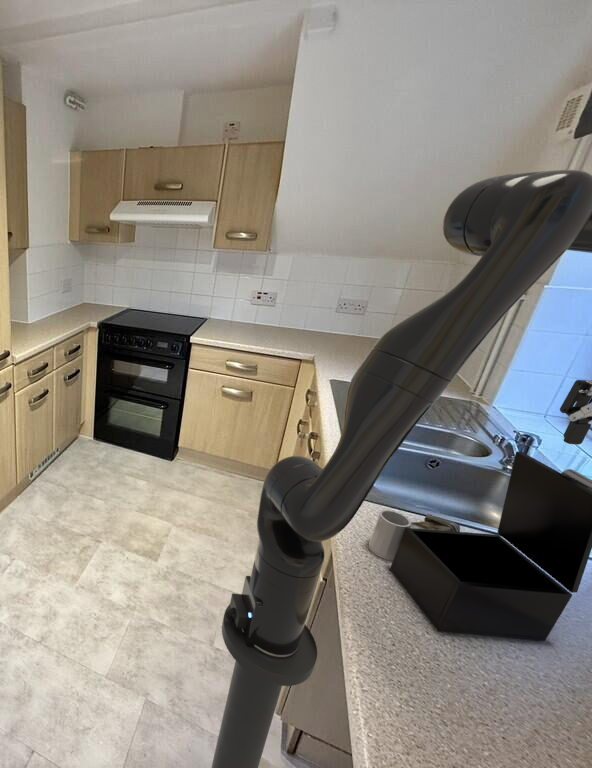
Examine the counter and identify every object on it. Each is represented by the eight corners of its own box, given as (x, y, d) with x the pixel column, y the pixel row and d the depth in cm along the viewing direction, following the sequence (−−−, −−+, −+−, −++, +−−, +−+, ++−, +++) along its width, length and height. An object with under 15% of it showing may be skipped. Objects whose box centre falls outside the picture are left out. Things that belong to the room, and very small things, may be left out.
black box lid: (601, 500, 58) (646, 497, 58) (515, 451, 71) (551, 448, 70) (571, 592, 64) (611, 591, 63) (497, 532, 77) (529, 530, 76)
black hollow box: (438, 631, 69) (459, 585, 66) (389, 569, 82) (405, 527, 78) (545, 641, 68) (573, 594, 64) (478, 576, 81) (498, 534, 77)
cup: (377, 559, 84) (389, 525, 81) (363, 541, 89) (374, 508, 86) (404, 561, 84) (417, 527, 81) (388, 543, 89) (400, 510, 86)
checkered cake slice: (391, 518, 97) (412, 510, 87) (425, 514, 96) (450, 506, 85) (409, 562, 93) (433, 559, 82) (445, 558, 91) (474, 555, 81)
